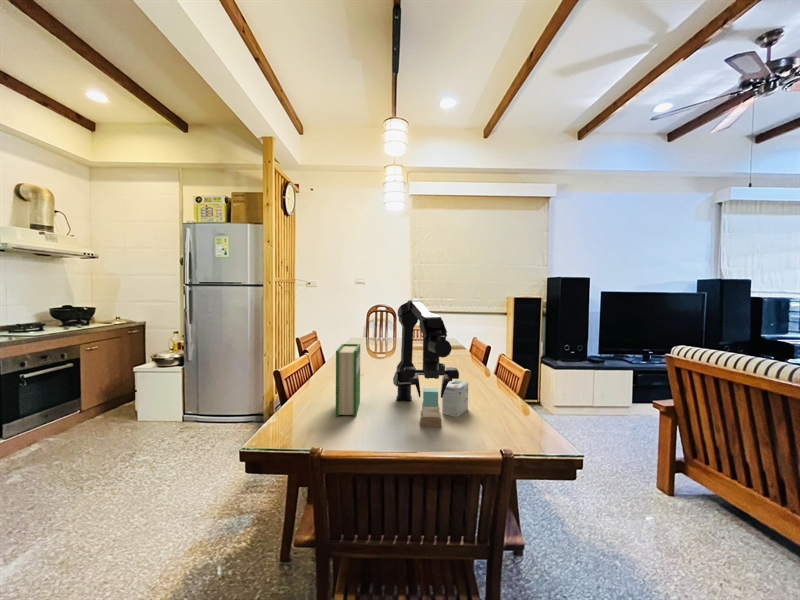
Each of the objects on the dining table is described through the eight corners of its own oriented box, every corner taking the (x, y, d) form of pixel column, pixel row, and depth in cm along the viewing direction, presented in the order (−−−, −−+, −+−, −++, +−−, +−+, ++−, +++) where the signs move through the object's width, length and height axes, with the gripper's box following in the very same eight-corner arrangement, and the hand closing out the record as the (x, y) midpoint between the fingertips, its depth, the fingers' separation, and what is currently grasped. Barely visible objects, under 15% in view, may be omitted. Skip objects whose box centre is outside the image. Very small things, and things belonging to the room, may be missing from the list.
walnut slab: (420, 420, 128) (420, 410, 128) (440, 421, 128) (440, 411, 128) (420, 428, 121) (420, 417, 121) (441, 428, 121) (441, 418, 121)
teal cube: (423, 406, 122) (423, 391, 122) (423, 401, 127) (423, 387, 127) (438, 406, 122) (438, 392, 122) (437, 402, 127) (437, 388, 127)
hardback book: (356, 417, 130) (356, 351, 130) (335, 417, 130) (335, 350, 130) (359, 402, 148) (360, 344, 147) (341, 402, 148) (342, 343, 147)
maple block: (422, 411, 127) (422, 401, 127) (437, 411, 127) (437, 402, 127) (423, 417, 122) (423, 406, 122) (439, 417, 122) (439, 406, 122)
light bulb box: (452, 406, 144) (452, 379, 143) (468, 409, 140) (469, 381, 140) (441, 414, 134) (441, 385, 134) (458, 417, 131) (458, 388, 131)
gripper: (403, 356, 117) (402, 404, 117) (461, 357, 116) (460, 405, 116) (404, 350, 128) (403, 394, 128) (457, 351, 127) (456, 395, 127)
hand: (430, 397), depth 124 cm, fingers open, 7 cm apart
